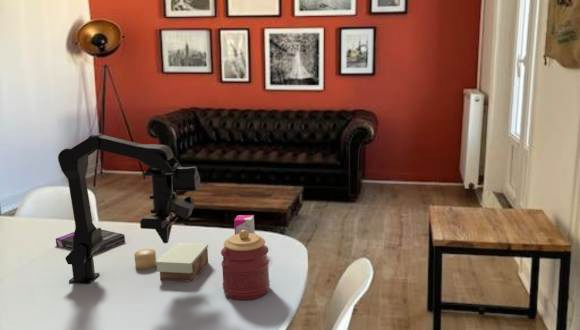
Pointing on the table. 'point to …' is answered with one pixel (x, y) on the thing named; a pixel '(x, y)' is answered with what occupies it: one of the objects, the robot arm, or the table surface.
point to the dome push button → (145, 259)
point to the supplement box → (244, 223)
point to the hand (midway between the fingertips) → (165, 242)
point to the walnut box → (196, 267)
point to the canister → (245, 266)
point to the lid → (180, 258)
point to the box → (108, 241)
